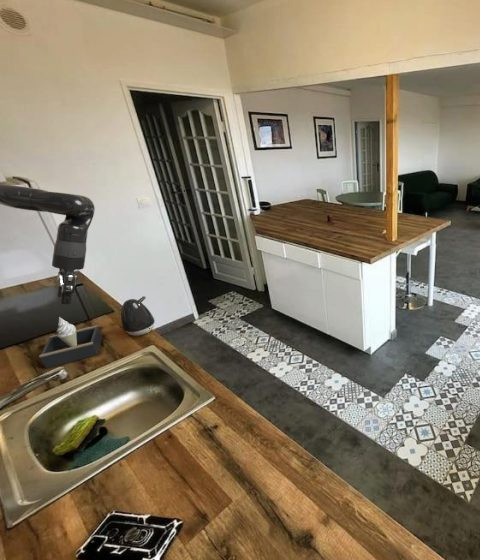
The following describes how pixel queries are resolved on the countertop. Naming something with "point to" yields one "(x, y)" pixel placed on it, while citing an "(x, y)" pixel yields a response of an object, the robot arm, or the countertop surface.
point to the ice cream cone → (67, 332)
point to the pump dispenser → (136, 317)
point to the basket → (57, 357)
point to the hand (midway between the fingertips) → (63, 300)
